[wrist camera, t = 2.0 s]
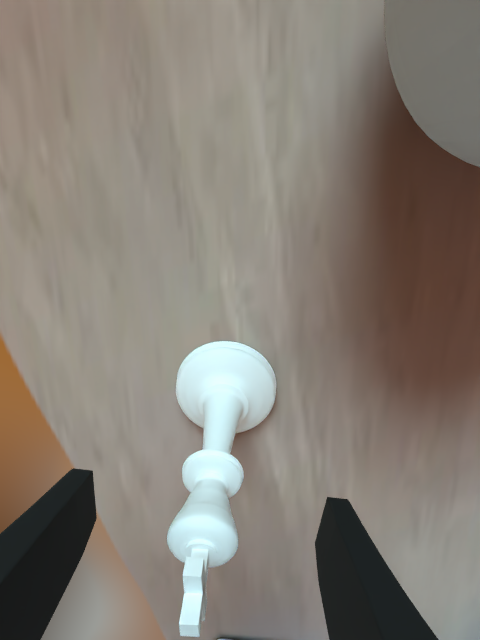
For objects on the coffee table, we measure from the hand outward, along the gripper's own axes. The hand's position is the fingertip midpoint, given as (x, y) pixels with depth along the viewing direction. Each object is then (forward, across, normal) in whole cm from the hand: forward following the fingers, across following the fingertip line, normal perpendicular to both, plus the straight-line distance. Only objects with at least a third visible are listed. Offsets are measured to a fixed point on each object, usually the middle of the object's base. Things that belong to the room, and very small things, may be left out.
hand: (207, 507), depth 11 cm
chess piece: (+7, 0, 0) cm, 7 cm away
